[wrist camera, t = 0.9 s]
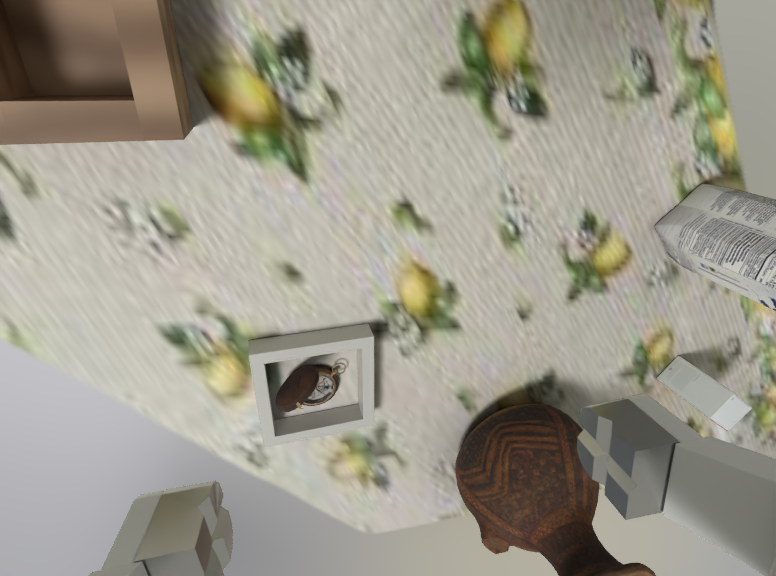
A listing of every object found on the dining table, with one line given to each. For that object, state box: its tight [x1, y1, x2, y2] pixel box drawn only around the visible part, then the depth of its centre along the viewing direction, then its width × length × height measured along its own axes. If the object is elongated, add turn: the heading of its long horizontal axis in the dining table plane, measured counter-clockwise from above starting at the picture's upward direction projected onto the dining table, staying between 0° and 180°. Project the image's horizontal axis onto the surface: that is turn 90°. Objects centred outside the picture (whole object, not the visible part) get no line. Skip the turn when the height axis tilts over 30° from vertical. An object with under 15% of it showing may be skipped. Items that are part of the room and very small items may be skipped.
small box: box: [657, 356, 752, 431], centre depth 74 cm, size 8×6×10 cm
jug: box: [455, 404, 656, 576], centre depth 60 cm, size 22×22×30 cm
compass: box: [276, 363, 346, 412], centre depth 53 cm, size 8×8×7 cm
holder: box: [0, 0, 193, 145], centre depth 31 cm, size 14×14×7 cm
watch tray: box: [249, 324, 374, 448], centre depth 55 cm, size 14×14×3 cm
